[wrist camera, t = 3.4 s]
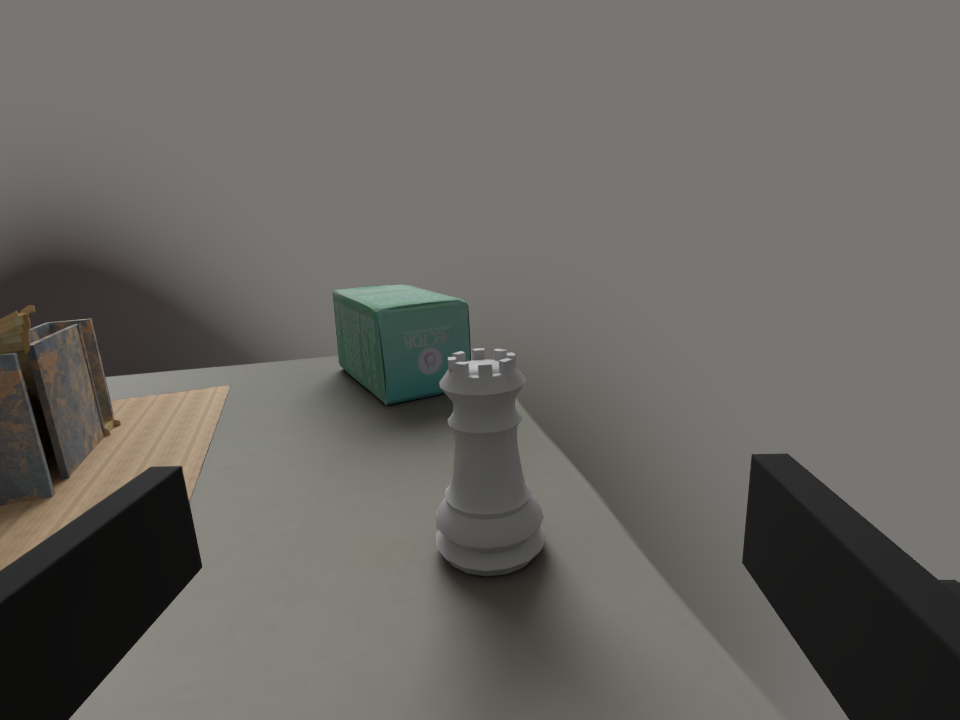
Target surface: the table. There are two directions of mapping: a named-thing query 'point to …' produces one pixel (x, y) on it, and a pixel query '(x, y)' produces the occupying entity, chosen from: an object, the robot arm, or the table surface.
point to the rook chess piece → (487, 471)
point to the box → (399, 338)
